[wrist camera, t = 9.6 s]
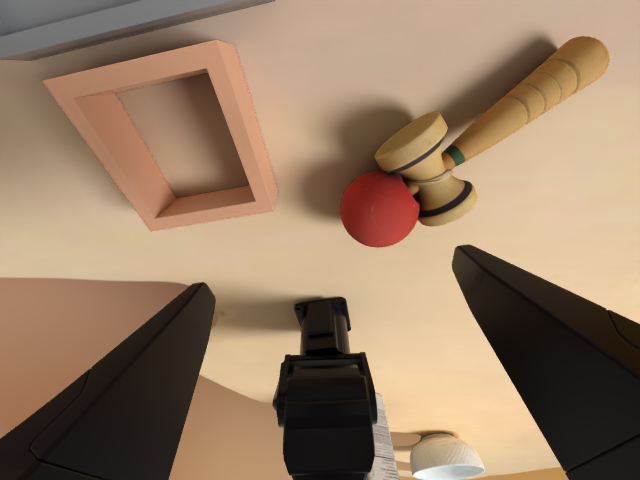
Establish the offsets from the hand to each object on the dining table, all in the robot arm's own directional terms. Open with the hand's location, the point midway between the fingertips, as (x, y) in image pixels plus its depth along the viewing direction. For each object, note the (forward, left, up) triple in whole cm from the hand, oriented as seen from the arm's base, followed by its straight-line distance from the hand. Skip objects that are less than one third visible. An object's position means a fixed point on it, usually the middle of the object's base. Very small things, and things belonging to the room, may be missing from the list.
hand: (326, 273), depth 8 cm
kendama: (-1, -9, -13) cm, 16 cm away
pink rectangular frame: (+3, +9, -13) cm, 16 cm away
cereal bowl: (-78, -18, -13) cm, 81 cm away
